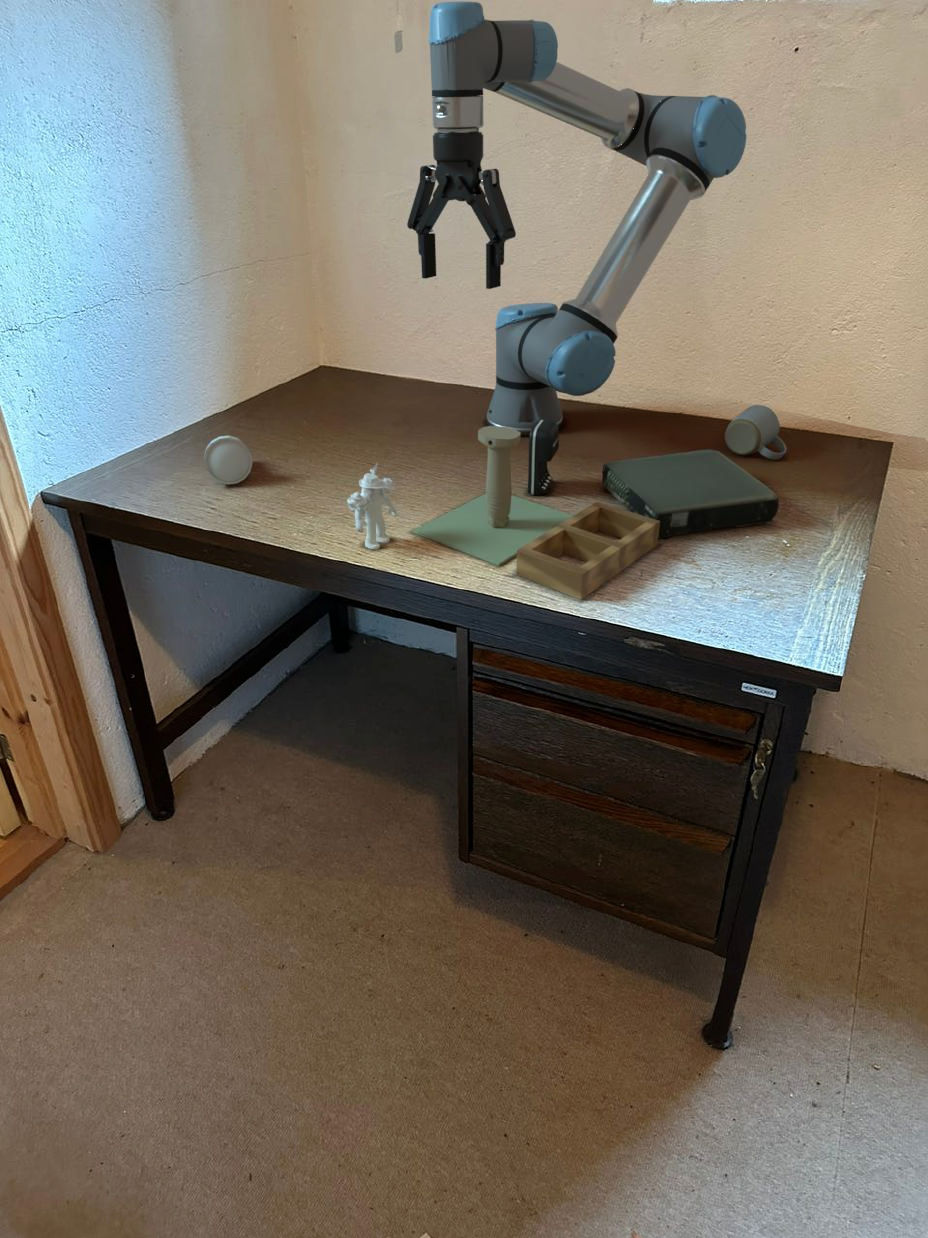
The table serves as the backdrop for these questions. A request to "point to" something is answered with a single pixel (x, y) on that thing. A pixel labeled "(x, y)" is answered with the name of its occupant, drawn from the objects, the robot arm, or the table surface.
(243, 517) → the table surface
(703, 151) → the robot arm
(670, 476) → the network switch
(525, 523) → the mat
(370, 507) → the flower shoulder figurine
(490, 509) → the handle
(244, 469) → the spotlight
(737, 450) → the ceramic mug
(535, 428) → the battery charger
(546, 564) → the rack
